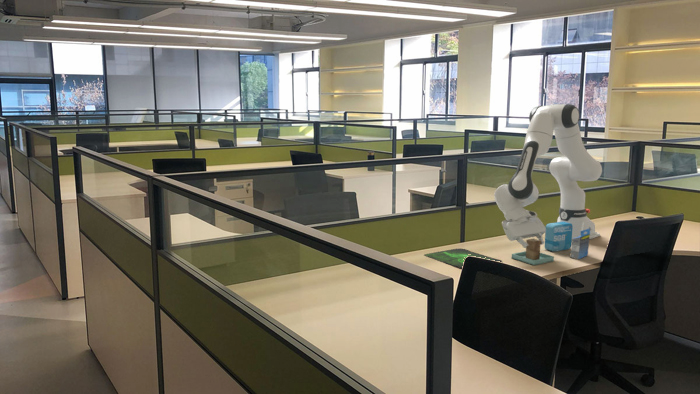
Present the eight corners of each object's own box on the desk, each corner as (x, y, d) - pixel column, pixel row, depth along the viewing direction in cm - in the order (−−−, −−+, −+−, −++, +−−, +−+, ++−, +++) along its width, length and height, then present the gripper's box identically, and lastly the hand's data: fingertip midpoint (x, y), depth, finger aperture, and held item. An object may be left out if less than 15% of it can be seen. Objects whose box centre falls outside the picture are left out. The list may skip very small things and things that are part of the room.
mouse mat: (421, 255, 248) (421, 253, 248) (459, 248, 259) (459, 246, 259) (464, 271, 225) (464, 268, 225) (504, 263, 236) (504, 260, 236)
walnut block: (532, 256, 242) (533, 238, 241) (539, 259, 239) (540, 240, 237) (525, 258, 240) (526, 239, 239) (532, 260, 237) (534, 241, 235)
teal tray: (531, 254, 248) (531, 250, 247) (553, 261, 237) (553, 256, 237) (511, 258, 242) (511, 253, 241) (533, 265, 231) (533, 260, 231)
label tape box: (579, 253, 249) (581, 226, 246) (588, 255, 246) (590, 228, 244) (569, 257, 243) (571, 229, 240) (579, 259, 240) (581, 231, 238)
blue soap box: (551, 252, 252) (553, 225, 249) (544, 249, 256) (545, 223, 253) (571, 249, 257) (573, 223, 255) (563, 246, 261) (565, 221, 259)
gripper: (504, 216, 237) (521, 244, 230) (538, 211, 247) (555, 238, 241) (496, 225, 242) (512, 252, 235) (529, 220, 252) (546, 246, 245)
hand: (534, 245), depth 238 cm, fingers open, 8 cm apart
